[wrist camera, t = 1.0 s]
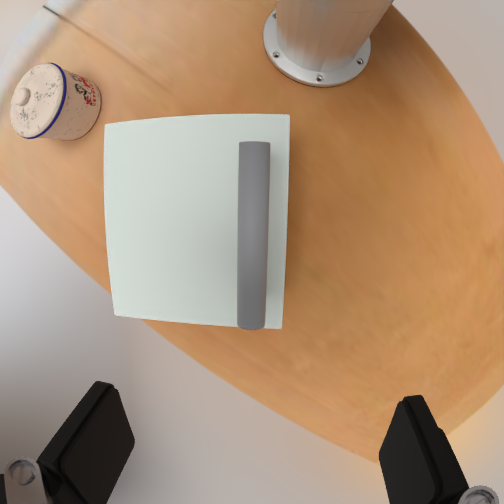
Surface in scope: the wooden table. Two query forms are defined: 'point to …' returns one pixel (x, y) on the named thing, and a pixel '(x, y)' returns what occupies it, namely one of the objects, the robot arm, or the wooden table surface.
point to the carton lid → (198, 218)
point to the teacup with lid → (54, 104)
